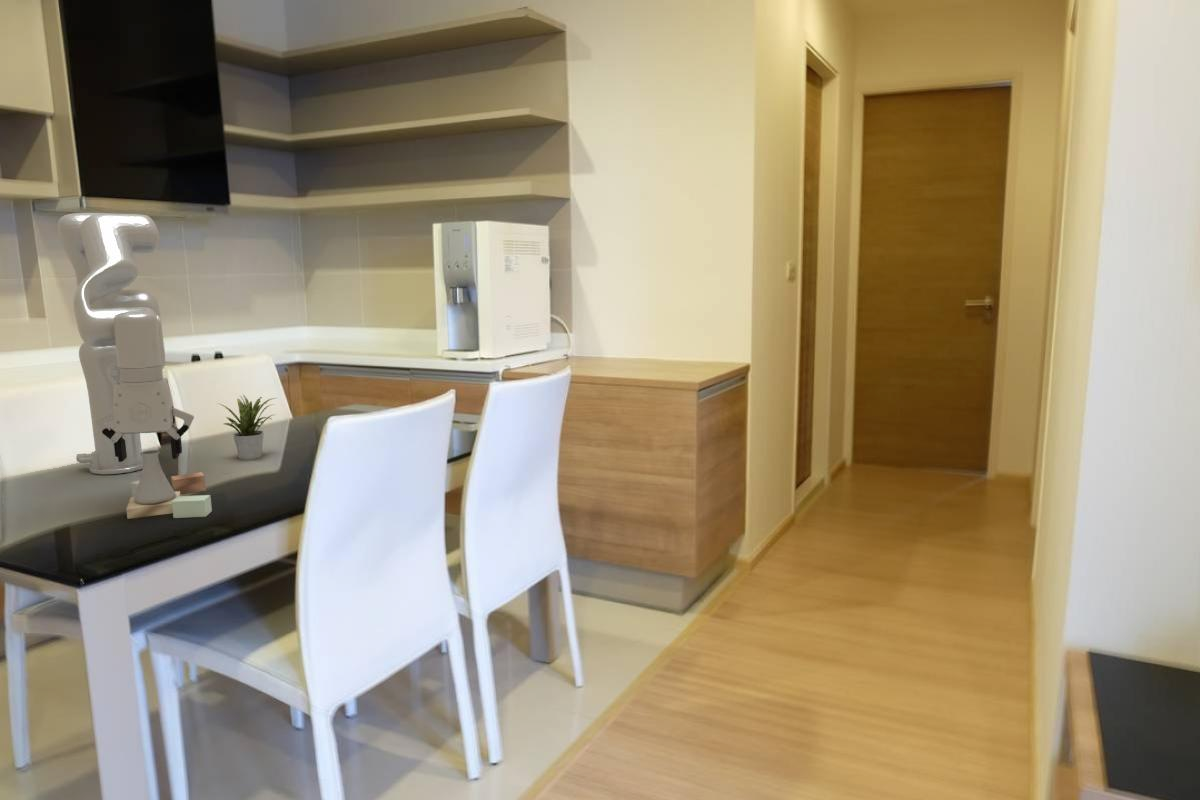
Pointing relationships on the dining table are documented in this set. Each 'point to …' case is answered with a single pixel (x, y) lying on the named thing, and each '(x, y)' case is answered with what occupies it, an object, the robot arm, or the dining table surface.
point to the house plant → (248, 429)
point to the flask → (153, 481)
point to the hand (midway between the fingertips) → (149, 458)
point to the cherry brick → (188, 483)
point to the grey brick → (134, 487)
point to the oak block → (149, 508)
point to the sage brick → (191, 506)
